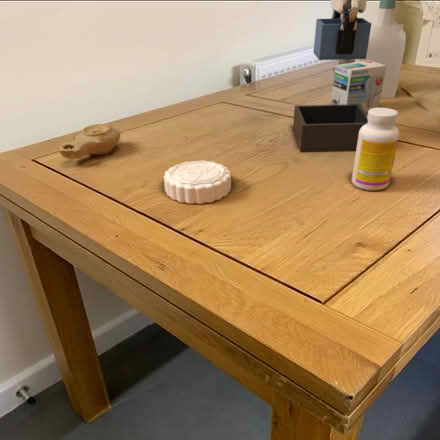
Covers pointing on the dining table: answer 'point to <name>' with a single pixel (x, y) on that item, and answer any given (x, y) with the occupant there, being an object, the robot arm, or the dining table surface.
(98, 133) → the oil lamp
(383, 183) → the supplement bottle
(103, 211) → the dining table surface
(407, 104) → the dining table surface
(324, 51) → the blue bin
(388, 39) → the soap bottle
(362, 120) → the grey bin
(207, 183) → the mooncake
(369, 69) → the light bulb box
